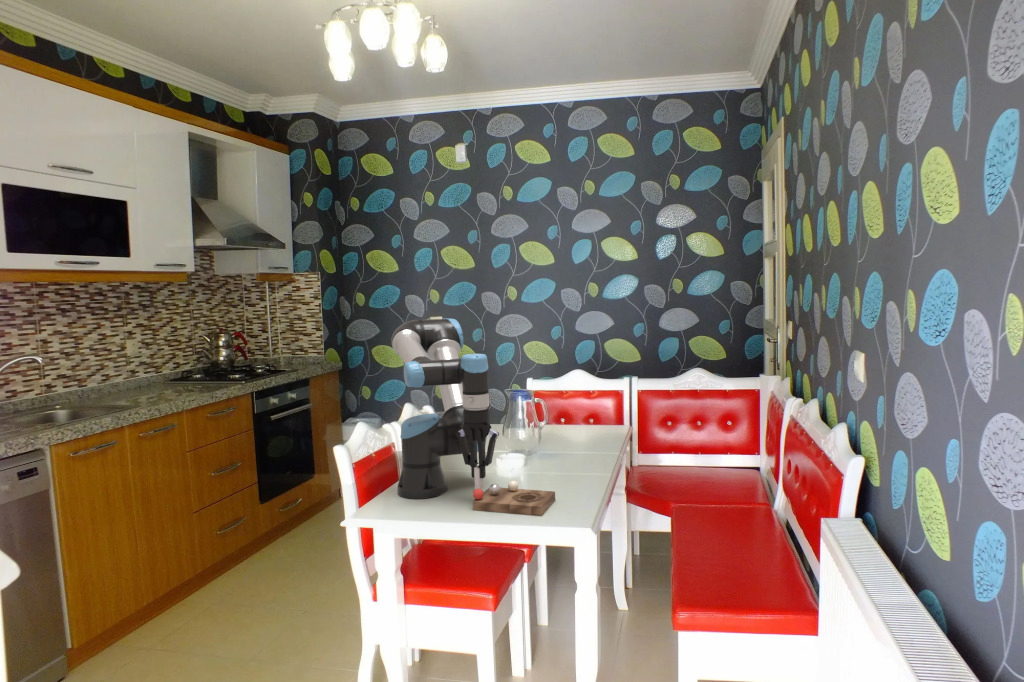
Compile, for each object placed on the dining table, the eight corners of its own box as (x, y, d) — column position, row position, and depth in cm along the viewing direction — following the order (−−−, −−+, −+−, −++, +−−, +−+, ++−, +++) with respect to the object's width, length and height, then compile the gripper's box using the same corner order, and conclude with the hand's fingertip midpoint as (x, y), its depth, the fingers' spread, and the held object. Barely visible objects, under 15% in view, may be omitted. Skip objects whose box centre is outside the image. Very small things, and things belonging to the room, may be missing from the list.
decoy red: (471, 500, 189) (471, 490, 188) (475, 497, 191) (475, 487, 191) (481, 501, 188) (481, 490, 187) (485, 498, 190) (485, 487, 190)
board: (472, 510, 188) (472, 501, 188) (490, 495, 201) (490, 486, 201) (541, 515, 182) (541, 506, 181) (555, 500, 195) (555, 491, 195)
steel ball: (487, 496, 192) (487, 485, 192) (491, 492, 195) (491, 482, 195) (498, 496, 191) (497, 485, 191) (501, 493, 194) (501, 482, 194)
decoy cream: (506, 492, 196) (506, 481, 195) (510, 489, 198) (509, 479, 198) (516, 492, 195) (516, 482, 194) (519, 489, 197) (519, 479, 197)
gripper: (449, 409, 191) (453, 491, 193) (492, 411, 187) (495, 494, 189) (460, 405, 198) (463, 483, 200) (502, 406, 194) (504, 486, 196)
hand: (479, 488), depth 195 cm, fingers closed
